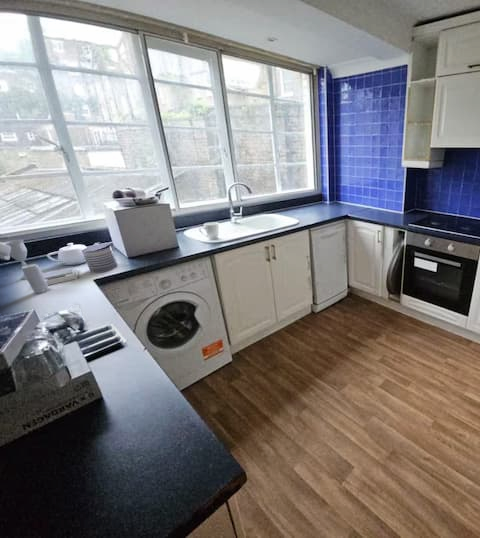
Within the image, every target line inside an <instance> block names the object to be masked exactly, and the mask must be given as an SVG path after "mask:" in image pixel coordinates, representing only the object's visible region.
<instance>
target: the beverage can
mask: <svg viewBox="0 0 480 538" xmlns="http://www.w3.org/2000/svg"><path fill="white" fill-rule="evenodd" d="M21 270H22V272H23V275H24V274H25V276H26V278H27V279H26V281H27V282H28V283H29V286H30V288H31V290H32V291H33V293H34V294H42V293H46V292H48V291H49V290H50V287H49V285H47V283H46V281H45V279H44V277H43V275H42V273H43V272H42V270H41V269H40V266H39V265H38V263H31V264H26V266H23V265H22V266H21Z"/></svg>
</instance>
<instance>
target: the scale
mask: <svg viewBox="0 0 480 538" xmlns="http://www.w3.org/2000/svg"><path fill="white" fill-rule="evenodd" d="M41 273H42V275H43V277H44V279H45V281H46V283H47V285H48V286H49V285H54V284H60V283H64V282H68V281H72V280H76V279H78V274H79V271H78V268H77V267H76V266H75V267H74V266H72V267H67V268H61V269H57V270H53V271H47V272H41Z"/></svg>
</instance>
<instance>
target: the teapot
mask: <svg viewBox="0 0 480 538" xmlns="http://www.w3.org/2000/svg"><path fill="white" fill-rule="evenodd" d="M97 244H101V242H95V243H94V244H93V245H97ZM66 245H67V246H64V247H60V248H59V249H58V250H57V251H53V252H49V253H47V254H46V258H47V259H49V260H50V261H53V262H57V263H60V264H62V265H66V266H75V265H80V264H84V263H87V262H86V260H85V257H84V255H83V253H82V251H81V250H83V249H85V248H87V247H88V246H86V245H85V244H81V243H80V244H79V243H78V244H74V242H69V243H66ZM55 254H57V259H55V258H53V257H52V255H55Z"/></svg>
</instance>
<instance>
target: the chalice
mask: <svg viewBox="0 0 480 538" xmlns="http://www.w3.org/2000/svg"><path fill="white" fill-rule="evenodd" d="M2 243H3V244H6V245H8V246H10V247H11V251H10V254H9V256H10V258H12V259H14V260H16V262H17V261H18V262H20V263H21V266H22V267H23V266H26V265H27V263H26V261H25V260H26V259H27V256H28V249H27V247H26V245H25V243H24V239H22V238H21V239H12V240H8V241H4V242H2ZM22 279H23V280H27V278H26V276H25V274H24V273H23V278H22Z"/></svg>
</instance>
